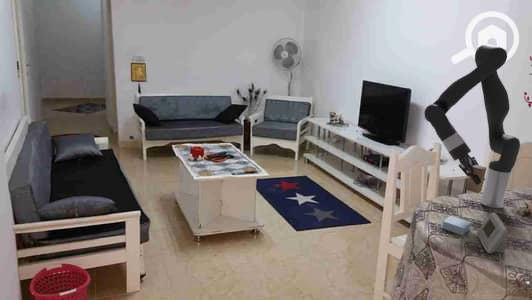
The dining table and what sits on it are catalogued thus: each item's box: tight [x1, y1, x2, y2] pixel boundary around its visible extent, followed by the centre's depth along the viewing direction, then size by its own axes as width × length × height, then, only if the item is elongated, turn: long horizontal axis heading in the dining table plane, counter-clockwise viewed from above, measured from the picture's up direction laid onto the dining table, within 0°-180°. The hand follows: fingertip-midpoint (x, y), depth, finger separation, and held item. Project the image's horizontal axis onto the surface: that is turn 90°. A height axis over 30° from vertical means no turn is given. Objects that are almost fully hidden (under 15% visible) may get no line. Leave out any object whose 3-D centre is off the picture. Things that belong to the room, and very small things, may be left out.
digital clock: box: [476, 212, 509, 254], centre depth 158 cm, size 16×9×11 cm, turn 155°
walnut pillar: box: [466, 164, 488, 194], centre depth 174 cm, size 4×4×10 cm
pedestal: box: [441, 215, 472, 236], centre depth 171 cm, size 8×8×3 cm
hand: (481, 182), depth 173 cm, fingers closed on walnut pillar, 4 cm apart
